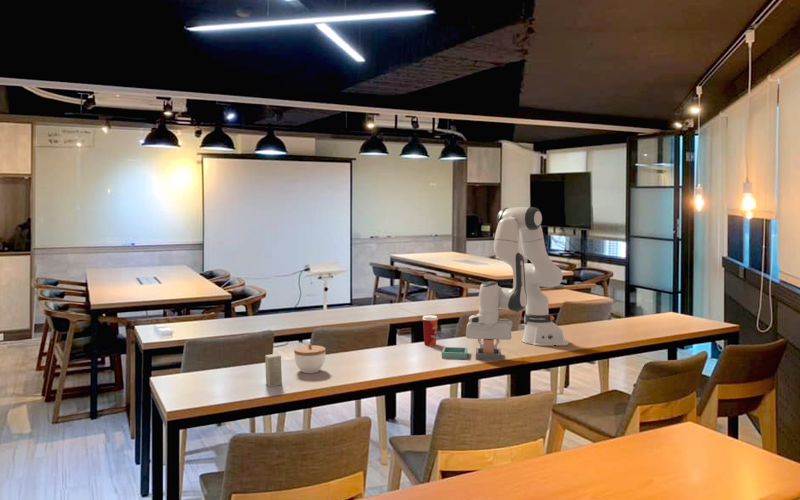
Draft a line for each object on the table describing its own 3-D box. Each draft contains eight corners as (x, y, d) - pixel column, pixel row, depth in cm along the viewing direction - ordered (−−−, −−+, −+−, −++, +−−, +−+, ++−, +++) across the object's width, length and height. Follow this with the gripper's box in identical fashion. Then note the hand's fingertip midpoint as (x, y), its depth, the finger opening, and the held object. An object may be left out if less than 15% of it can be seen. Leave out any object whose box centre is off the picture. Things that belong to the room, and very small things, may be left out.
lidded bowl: (288, 371, 235) (287, 344, 234) (312, 365, 244) (312, 339, 244) (307, 377, 226) (307, 349, 226) (332, 370, 236) (332, 343, 235)
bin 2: (500, 354, 263) (500, 348, 263) (501, 360, 252) (501, 354, 252) (476, 353, 265) (476, 347, 265) (475, 359, 254) (475, 353, 254)
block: (493, 355, 261) (493, 338, 260) (493, 358, 256) (493, 340, 255) (483, 355, 261) (483, 337, 261) (483, 357, 256) (483, 340, 256)
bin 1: (467, 353, 265) (467, 347, 265) (466, 358, 254) (466, 353, 254) (443, 352, 267) (443, 346, 267) (441, 358, 256) (441, 352, 256)
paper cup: (436, 346, 278) (437, 318, 277) (421, 346, 279) (421, 317, 278) (439, 343, 285) (439, 315, 284) (423, 342, 287) (423, 314, 286)
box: (278, 381, 220) (278, 353, 219) (282, 384, 216) (281, 355, 215) (265, 383, 217) (264, 354, 217) (268, 386, 214) (267, 357, 213)
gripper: (512, 317, 259) (511, 347, 260) (466, 316, 262) (466, 346, 263) (512, 320, 253) (512, 351, 254) (465, 318, 256) (465, 349, 257)
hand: (488, 348), depth 258 cm, fingers closed on block, 4 cm apart
